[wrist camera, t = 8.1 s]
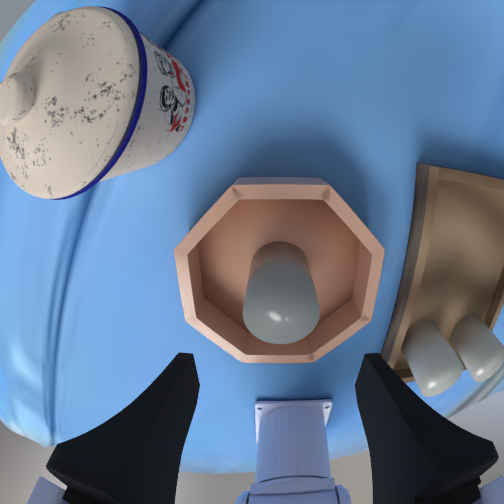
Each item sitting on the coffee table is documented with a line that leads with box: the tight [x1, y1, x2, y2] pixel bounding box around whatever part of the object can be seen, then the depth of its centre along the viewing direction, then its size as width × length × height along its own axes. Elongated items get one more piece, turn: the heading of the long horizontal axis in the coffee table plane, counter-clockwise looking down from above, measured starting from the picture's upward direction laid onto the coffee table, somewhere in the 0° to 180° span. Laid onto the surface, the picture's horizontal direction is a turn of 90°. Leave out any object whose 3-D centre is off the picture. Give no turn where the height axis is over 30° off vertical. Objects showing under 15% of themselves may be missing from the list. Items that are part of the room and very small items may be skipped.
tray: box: [380, 163, 504, 383], centre depth 19 cm, size 20×13×2 cm, turn 2°
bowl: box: [174, 177, 385, 363], centre depth 18 cm, size 13×13×3 cm
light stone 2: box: [450, 314, 504, 382], centre depth 18 cm, size 4×4×6 cm
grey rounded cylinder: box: [243, 241, 320, 344], centre depth 17 cm, size 4×4×6 cm
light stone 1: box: [401, 320, 463, 397], centre depth 19 cm, size 4×4×6 cm
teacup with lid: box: [0, 6, 195, 200], centre depth 10 cm, size 12×9×12 cm
